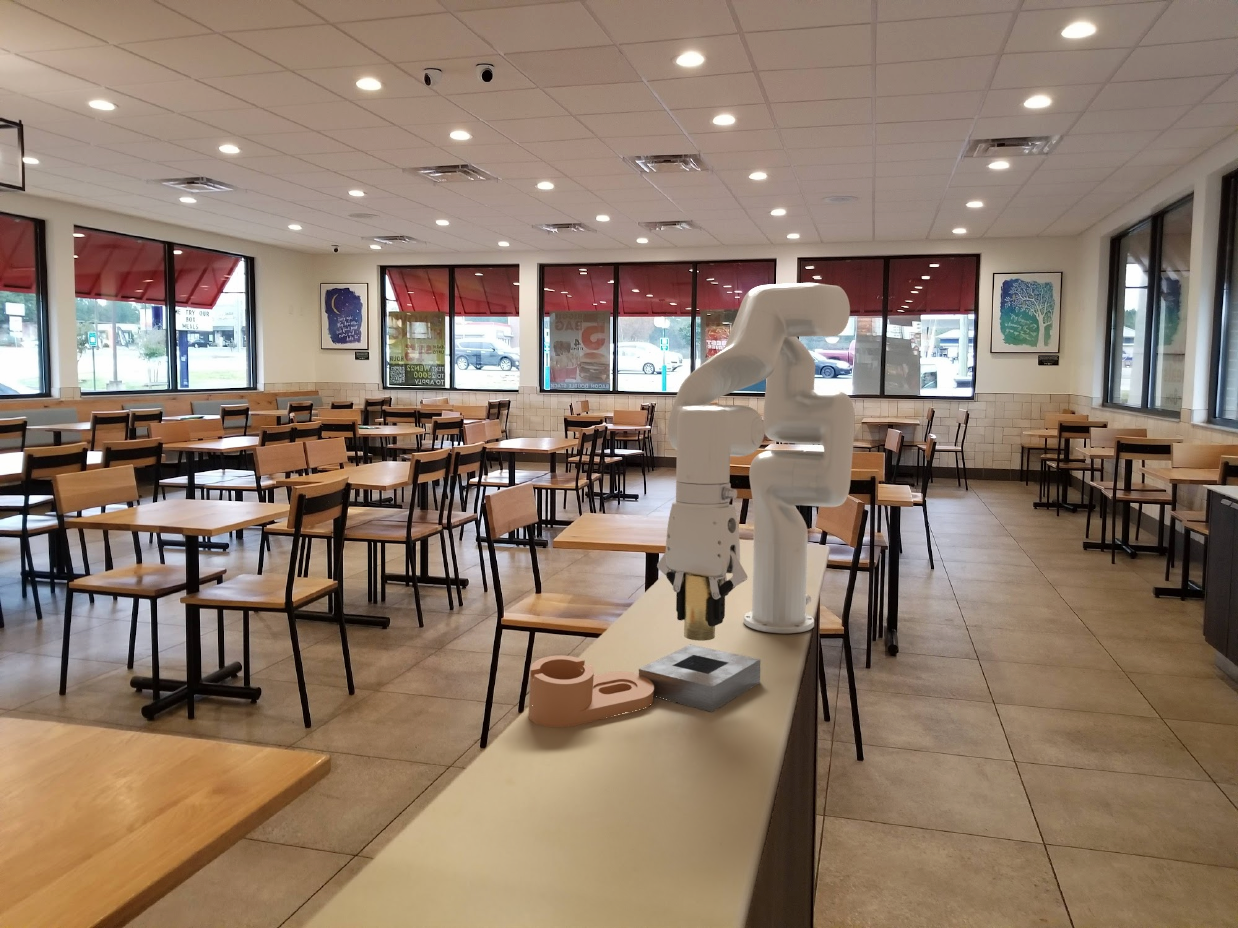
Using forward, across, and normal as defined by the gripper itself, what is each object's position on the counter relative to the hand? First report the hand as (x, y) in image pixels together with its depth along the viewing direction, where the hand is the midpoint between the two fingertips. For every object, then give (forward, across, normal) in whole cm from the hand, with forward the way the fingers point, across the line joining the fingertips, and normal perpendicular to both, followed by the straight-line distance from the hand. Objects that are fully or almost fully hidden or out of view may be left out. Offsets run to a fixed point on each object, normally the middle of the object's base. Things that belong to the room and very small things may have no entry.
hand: (700, 620), depth 125 cm
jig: (+10, 0, -1) cm, 10 cm away
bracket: (+11, +8, +14) cm, 20 cm away
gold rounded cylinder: (+2, 0, 0) cm, 2 cm away
